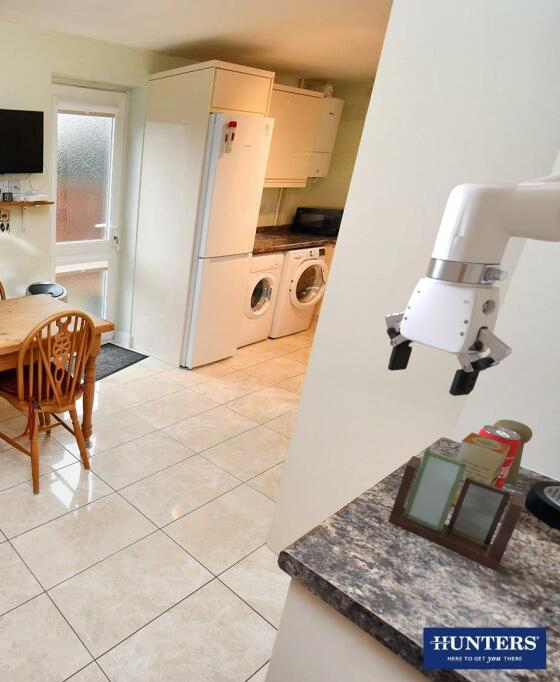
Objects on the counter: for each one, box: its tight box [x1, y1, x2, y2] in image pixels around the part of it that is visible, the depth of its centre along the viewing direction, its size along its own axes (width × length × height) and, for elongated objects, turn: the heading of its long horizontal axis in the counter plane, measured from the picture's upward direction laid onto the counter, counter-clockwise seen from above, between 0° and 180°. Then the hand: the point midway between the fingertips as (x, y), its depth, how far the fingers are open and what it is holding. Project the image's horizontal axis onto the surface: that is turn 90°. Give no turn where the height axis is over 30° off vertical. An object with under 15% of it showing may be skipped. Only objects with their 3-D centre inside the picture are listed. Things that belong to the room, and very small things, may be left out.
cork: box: [492, 419, 533, 484], centre depth 85 cm, size 6×6×11 cm
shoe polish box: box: [452, 431, 511, 507], centre depth 76 cm, size 5×5×12 cm
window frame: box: [388, 455, 527, 571], centre depth 68 cm, size 13×4×11 cm, turn 41°
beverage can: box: [477, 424, 521, 489], centre depth 80 cm, size 5×5×12 cm
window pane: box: [403, 448, 467, 532], centre depth 69 cm, size 5×1×12 cm, turn 41°
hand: (425, 381), depth 70 cm, fingers open, 9 cm apart
